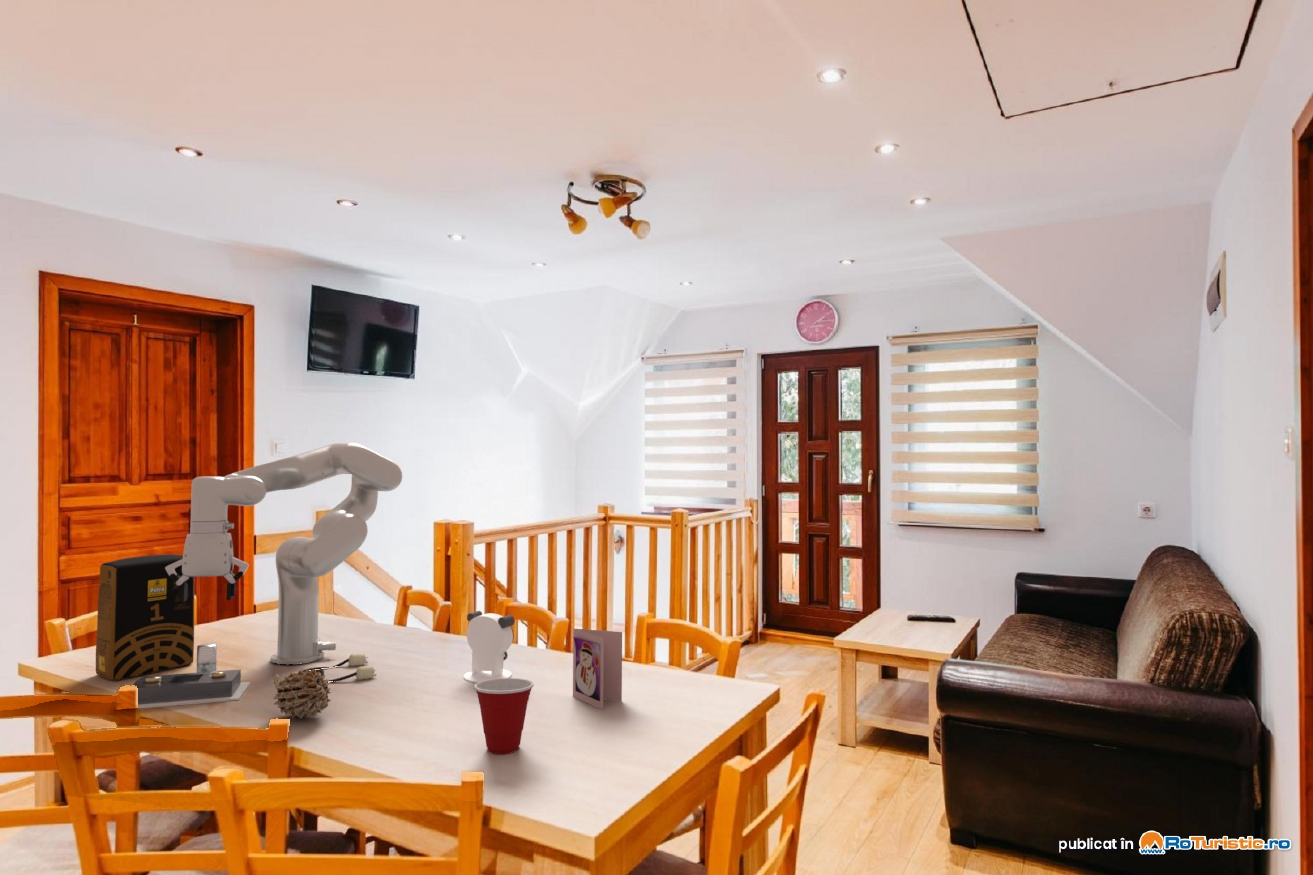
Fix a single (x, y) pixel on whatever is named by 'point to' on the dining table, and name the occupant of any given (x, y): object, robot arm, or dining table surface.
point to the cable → (353, 660)
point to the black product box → (142, 618)
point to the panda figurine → (489, 645)
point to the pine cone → (302, 693)
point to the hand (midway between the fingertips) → (206, 600)
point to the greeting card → (597, 666)
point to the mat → (235, 696)
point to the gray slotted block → (187, 686)
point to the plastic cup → (503, 712)
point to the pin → (206, 657)
